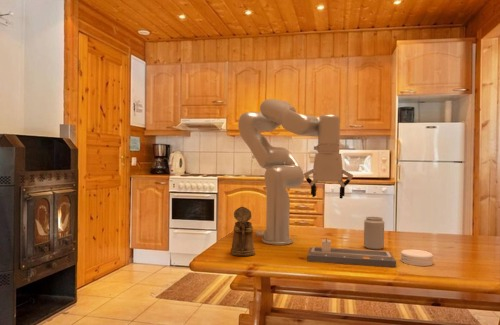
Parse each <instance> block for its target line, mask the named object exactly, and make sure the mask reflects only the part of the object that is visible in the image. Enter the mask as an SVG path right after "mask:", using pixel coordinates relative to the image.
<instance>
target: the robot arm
mask: <svg viewBox="0 0 500 325" xmlns="http://www.w3.org/2000/svg"><path fill="white" fill-rule="evenodd" d="M259 106H260V107H259V111H260V112H259V111H246V112H243V113H242V114H241V115H240V116H239V119H238V121H237V122H238V124H237V125H238V126H237V127H238V132H239V135H240V137H241V139H242V140H243V141H244V143H245V144H246V146H247V147H248V148H249V150H250V152H251V154H252V155H253V157H254V158H255V160H256V162H257V163H258V165H259V166H260V167H261V168H263V169H265V171H264V182H265V192H266V212H265V214H266V216H265V217H266V222H265V224H266V225H265V230H263V231H262V230H256V231H255V236H258V237H262V238H261V241H262V242H263V243H264V244H268V245H275V246H281V245H282V246H283V245H290V244H293V242H294V239H293V238H291V237H290V208H291V207H290V204H291V203H290V200H291V199H290V194H289V193H288V191H287V189H294V188H298V187H300V186H301V185H302V184H303V182H304V179H306V182H307V183H308V184H309V185H310V194H311V195H312V196H311V198H315V197H316V196H317V185H316V184H317V182H333V183H334V182H336V183H337V182H338V184H339V185H340V187H339V199H343V198H344V197H345V192H346V191H345V189H346V186H347V185H349V184H350V182H351V180H352V179H353V178H354V175H353V174H352V173H350V172H349V171H347V170H345V169H343V157H342V156H343V155H342V153H340V142H341V141H340V138H341V137H340V134H341V132H340V131H341V118H340V116H339V115H337V114H321V115H320V116H316V115H308V114H301V113H299V112H297V109H296V108H295V106H292V105H291V103H290V102H289V101H286V100H281V99H275V98H267V99H264V100H263V101H262V102H261V103H260V105H259ZM280 126H281V127H282V128H283V129H284V130H285V131H287V132H290V133H293V134H295V135H298V136H305V137H315V138H316V137H317V145H316V146H313V150H314V151H316V152H317V153H315V154H314V159H313V168H312V169H310V170H308V171H306V172H303V169H302V167H301V166H300V165H299V163H298V162H297V160H296V158H295V156H294V155H293V154H292V153H291V152H290V151H289V150H288V149H287V148H285V147H280V146H272V145H271V144H270V143H269V141H268V139H267V138H266V137H265V136H264V135H263V134H262V133H261V132H263V133H264V132H265V133H268V132H269V133H270V132H272V131H274V130H276V129H277V128H279V127H280ZM311 174H312V178H313V179H311V178H310V175H311ZM344 175H345V176H346V177H347V178H346V180H345V181H344V180H343V176H344Z"/></svg>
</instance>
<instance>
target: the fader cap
mask: <svg viewBox="0 0 500 325" xmlns="http://www.w3.org/2000/svg"><path fill="white" fill-rule="evenodd" d="M331 245H332V240H331V239H328V238H327V237H326V238H322V239H321V247H322V252H331V248H332V246H331Z"/></svg>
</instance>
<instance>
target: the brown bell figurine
mask: <svg viewBox="0 0 500 325" xmlns="http://www.w3.org/2000/svg"><path fill="white" fill-rule="evenodd" d="M233 216H234V219H235V220H236V221H235V223H234V226H233V236H232V244H231V248H230V252H229V253H230V255H232V256H234V255H235V257H251V255H252V256H254V255H255V254H256V249H255V244H254V235H253V232H254V226H253V224H252V222H251V221H250V220H251V219H252V211H251V210H250V209H248V208H247V207H244V206H240V207H238V208H236V209H235V210H234V212H233Z"/></svg>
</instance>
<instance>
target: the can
mask: <svg viewBox="0 0 500 325" xmlns="http://www.w3.org/2000/svg"><path fill="white" fill-rule="evenodd" d="M383 219H384V218H383V217H380V216H366V217H365V220H364V222H363V246H364V247H365V248H366V249H367V250H373V251H380V250H382V249H383V248H384V247H385V221H384V220H383Z"/></svg>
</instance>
